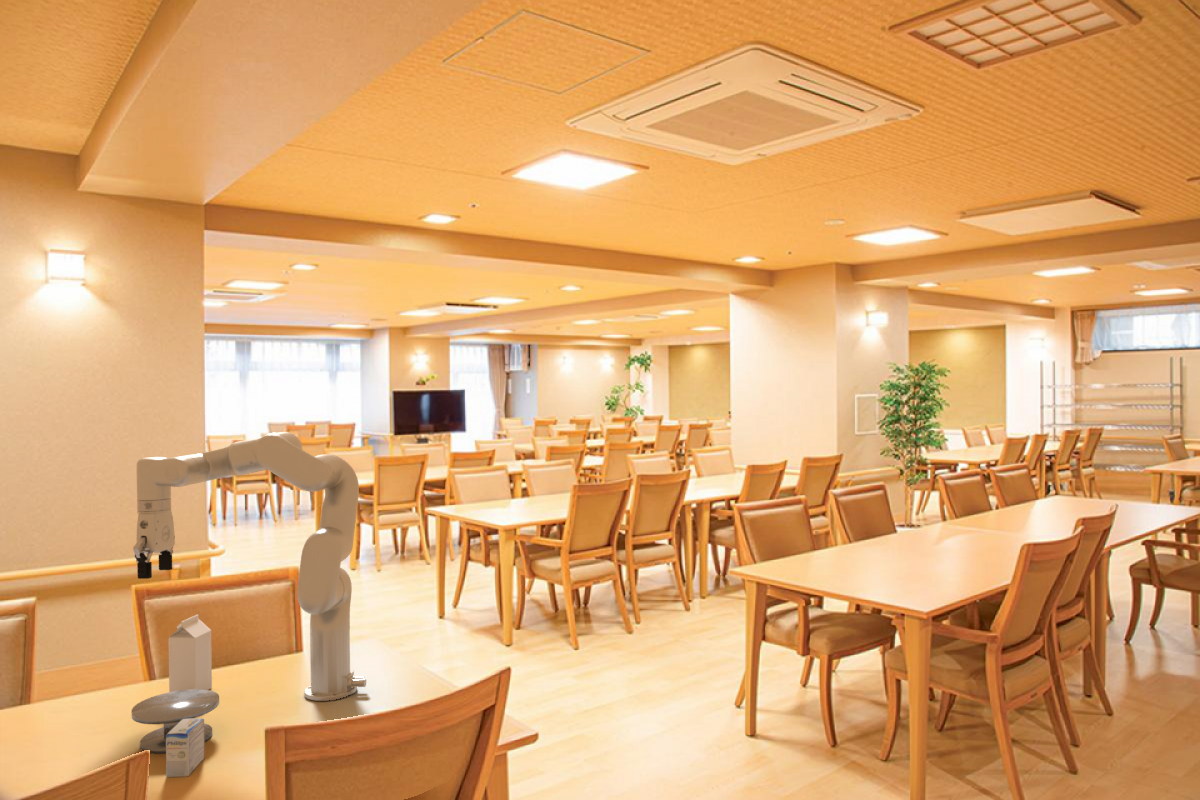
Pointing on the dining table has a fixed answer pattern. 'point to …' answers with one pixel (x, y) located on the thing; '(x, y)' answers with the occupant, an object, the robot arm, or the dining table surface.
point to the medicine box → (184, 747)
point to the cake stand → (172, 714)
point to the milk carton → (190, 656)
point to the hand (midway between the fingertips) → (155, 574)
